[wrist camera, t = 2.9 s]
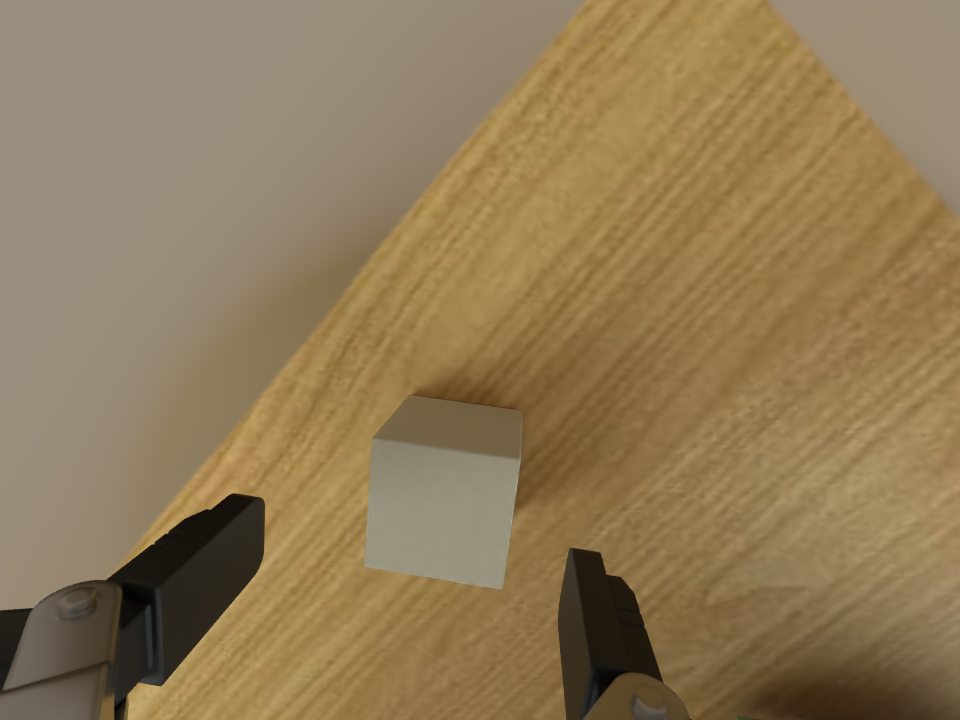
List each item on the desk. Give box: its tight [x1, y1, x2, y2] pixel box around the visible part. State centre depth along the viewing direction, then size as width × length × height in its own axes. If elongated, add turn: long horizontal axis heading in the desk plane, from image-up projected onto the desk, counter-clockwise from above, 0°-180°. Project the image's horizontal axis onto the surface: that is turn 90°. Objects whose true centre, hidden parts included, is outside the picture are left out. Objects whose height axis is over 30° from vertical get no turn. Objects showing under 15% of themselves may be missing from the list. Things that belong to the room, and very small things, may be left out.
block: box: [364, 395, 523, 589], centre depth 16 cm, size 4×4×4 cm
